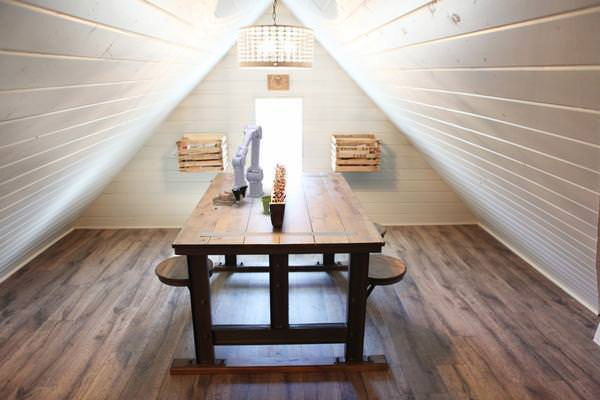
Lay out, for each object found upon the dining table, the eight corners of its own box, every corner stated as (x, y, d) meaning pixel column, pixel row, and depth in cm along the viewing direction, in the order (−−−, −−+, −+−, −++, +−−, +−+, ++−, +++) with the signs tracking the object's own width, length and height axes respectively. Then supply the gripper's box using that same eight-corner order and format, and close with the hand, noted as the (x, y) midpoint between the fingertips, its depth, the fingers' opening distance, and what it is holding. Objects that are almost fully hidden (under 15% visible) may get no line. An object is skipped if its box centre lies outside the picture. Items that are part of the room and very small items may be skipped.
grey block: (229, 198, 279) (228, 190, 277) (236, 199, 278) (235, 190, 276) (226, 200, 275) (225, 192, 273) (233, 201, 274) (232, 192, 272)
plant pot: (274, 215, 247) (273, 200, 244) (258, 214, 250) (258, 199, 247) (280, 210, 255) (280, 196, 253) (265, 209, 258) (264, 194, 256)
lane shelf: (224, 197, 282) (224, 191, 281) (241, 198, 279) (241, 192, 278) (213, 204, 267) (212, 198, 266) (230, 206, 264) (230, 199, 263)
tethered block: (224, 202, 272) (223, 192, 270) (244, 203, 269) (243, 193, 267) (220, 204, 268) (220, 194, 266) (241, 205, 265) (240, 196, 263)
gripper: (240, 180, 254) (242, 203, 258) (250, 174, 268) (251, 196, 272) (229, 179, 256) (230, 202, 260) (239, 173, 270) (240, 195, 273)
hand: (240, 199), depth 266 cm, fingers open, 7 cm apart
